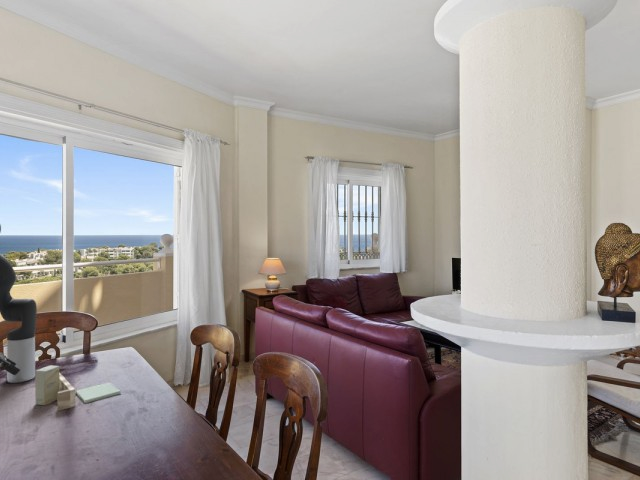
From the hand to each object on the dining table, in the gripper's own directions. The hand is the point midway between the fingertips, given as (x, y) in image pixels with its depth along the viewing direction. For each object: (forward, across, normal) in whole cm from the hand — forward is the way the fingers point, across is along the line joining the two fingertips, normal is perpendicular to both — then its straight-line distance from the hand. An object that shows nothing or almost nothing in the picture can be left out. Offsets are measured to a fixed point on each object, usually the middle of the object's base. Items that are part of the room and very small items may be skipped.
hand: (15, 369), depth 134 cm
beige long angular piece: (+19, 0, +1) cm, 19 cm away
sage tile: (+27, -5, -7) cm, 28 cm away
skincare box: (+16, 0, +4) cm, 17 cm away
